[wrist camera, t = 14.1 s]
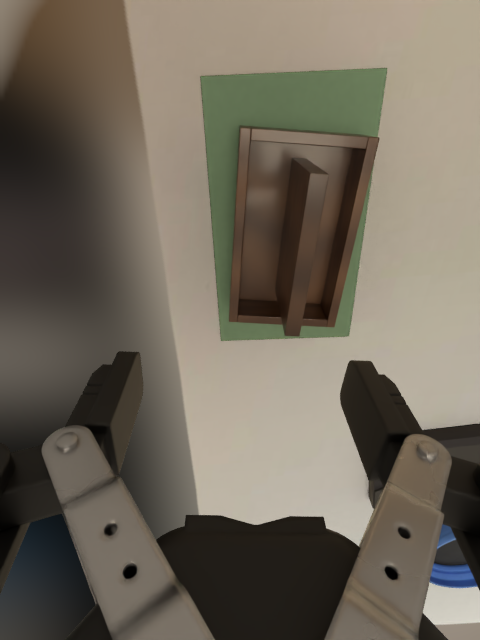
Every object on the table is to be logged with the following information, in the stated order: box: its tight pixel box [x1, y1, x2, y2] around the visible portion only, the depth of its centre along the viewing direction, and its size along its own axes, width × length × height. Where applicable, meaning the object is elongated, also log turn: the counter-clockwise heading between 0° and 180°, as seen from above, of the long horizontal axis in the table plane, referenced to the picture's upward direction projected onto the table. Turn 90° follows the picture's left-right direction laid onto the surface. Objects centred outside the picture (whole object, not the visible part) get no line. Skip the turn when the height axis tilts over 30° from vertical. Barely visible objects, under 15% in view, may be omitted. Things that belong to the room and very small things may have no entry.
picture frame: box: [369, 424, 480, 508], centre depth 49 cm, size 13×2×18 cm
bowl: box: [430, 524, 477, 588], centre depth 59 cm, size 18×18×4 cm
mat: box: [201, 68, 387, 341], centre depth 33 cm, size 24×14×1 cm, turn 2°
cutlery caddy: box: [229, 125, 379, 337], centre depth 29 cm, size 16×10×9 cm, turn 176°
